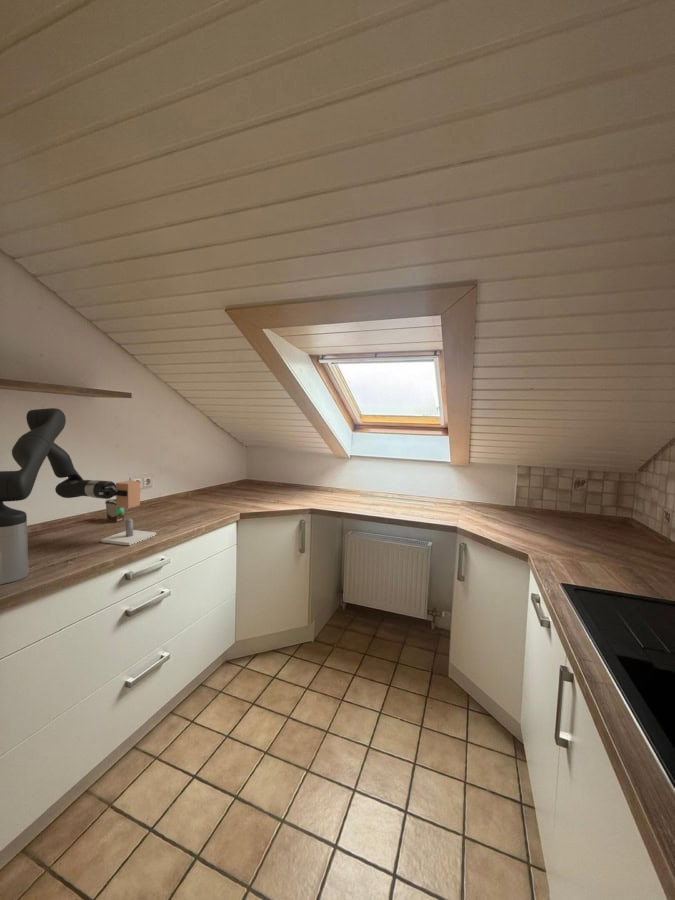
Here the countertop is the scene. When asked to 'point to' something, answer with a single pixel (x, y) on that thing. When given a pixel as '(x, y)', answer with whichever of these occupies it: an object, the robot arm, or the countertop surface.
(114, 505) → the food container
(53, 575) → the countertop surface
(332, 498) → the countertop surface
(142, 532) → the post
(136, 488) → the salmon orange block
